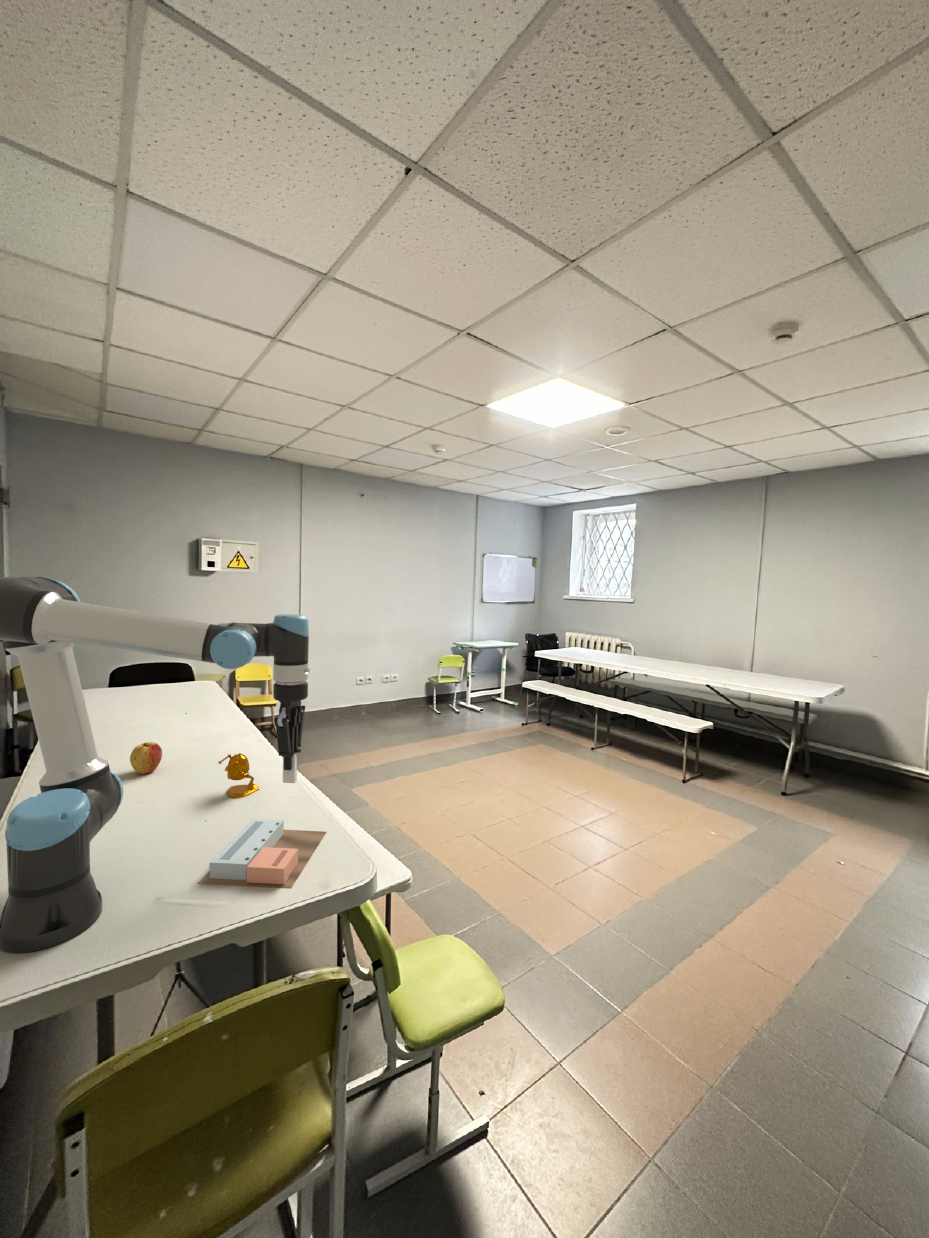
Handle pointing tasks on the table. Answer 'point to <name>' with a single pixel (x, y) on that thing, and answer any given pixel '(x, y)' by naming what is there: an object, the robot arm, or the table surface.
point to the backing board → (290, 839)
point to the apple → (146, 757)
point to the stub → (272, 865)
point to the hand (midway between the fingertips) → (289, 781)
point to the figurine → (239, 776)
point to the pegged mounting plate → (245, 848)
